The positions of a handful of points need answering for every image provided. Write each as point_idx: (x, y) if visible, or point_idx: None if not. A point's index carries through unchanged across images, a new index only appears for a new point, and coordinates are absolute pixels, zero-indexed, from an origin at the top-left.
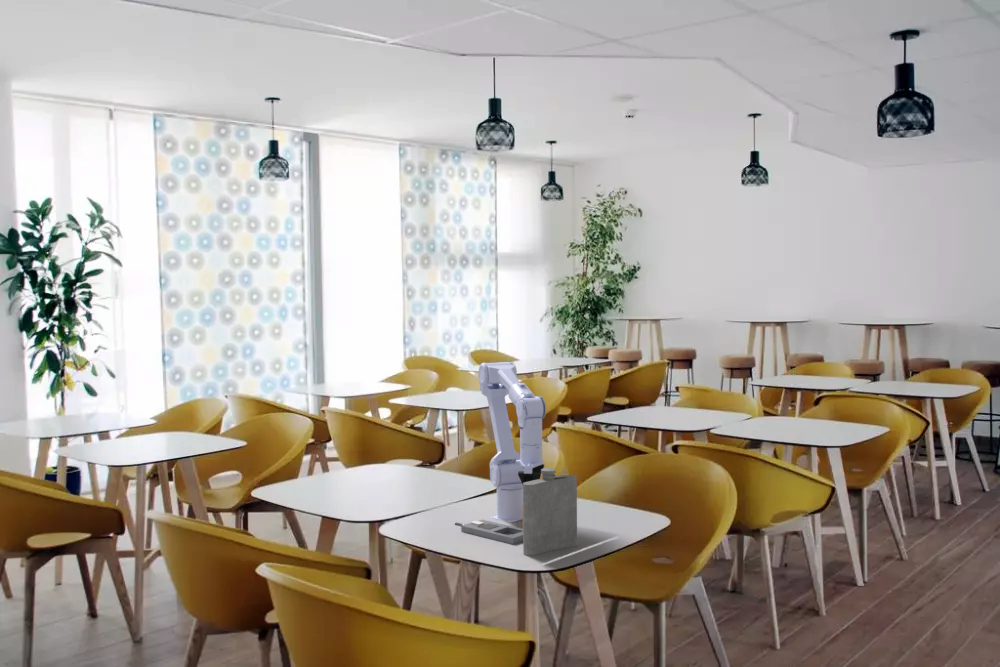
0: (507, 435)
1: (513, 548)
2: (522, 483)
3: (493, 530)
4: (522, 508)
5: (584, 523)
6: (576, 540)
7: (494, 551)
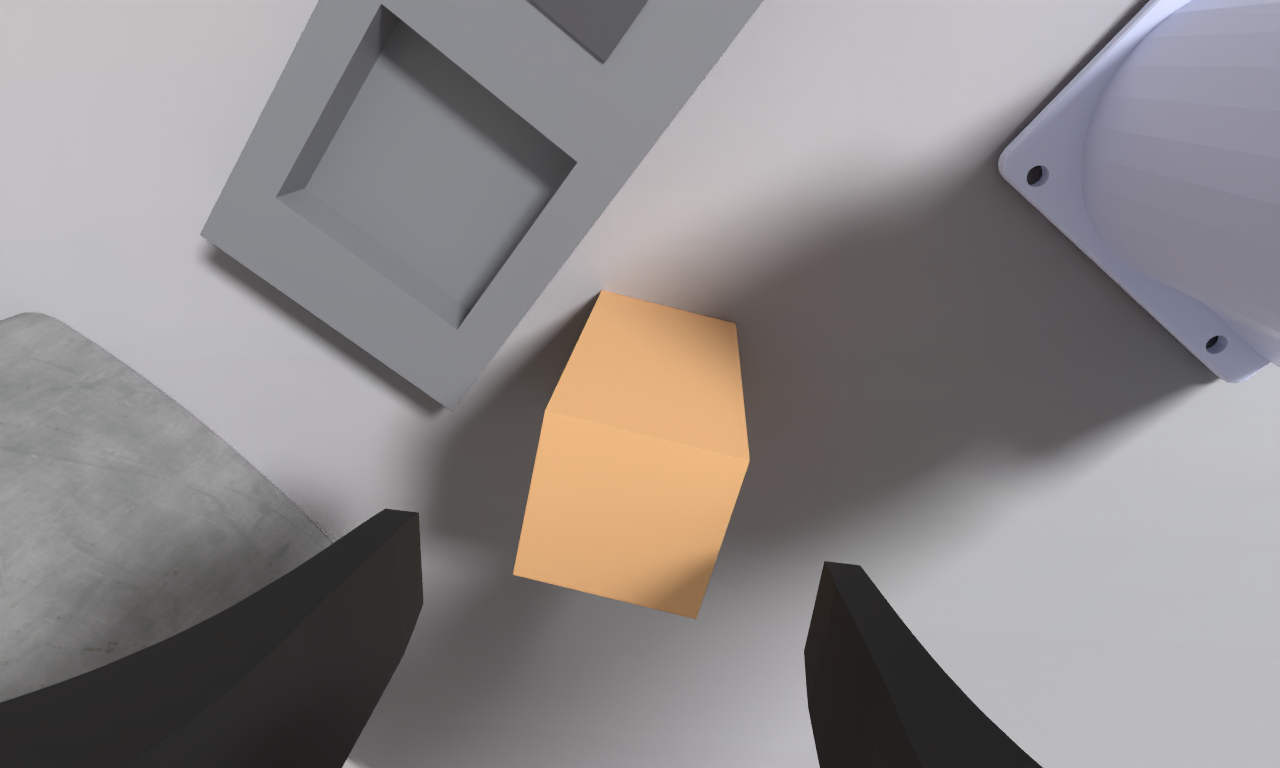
0: None
1: (189, 228)
2: (153, 652)
3: (429, 5)
4: (556, 389)
5: None
6: None
7: (54, 62)
